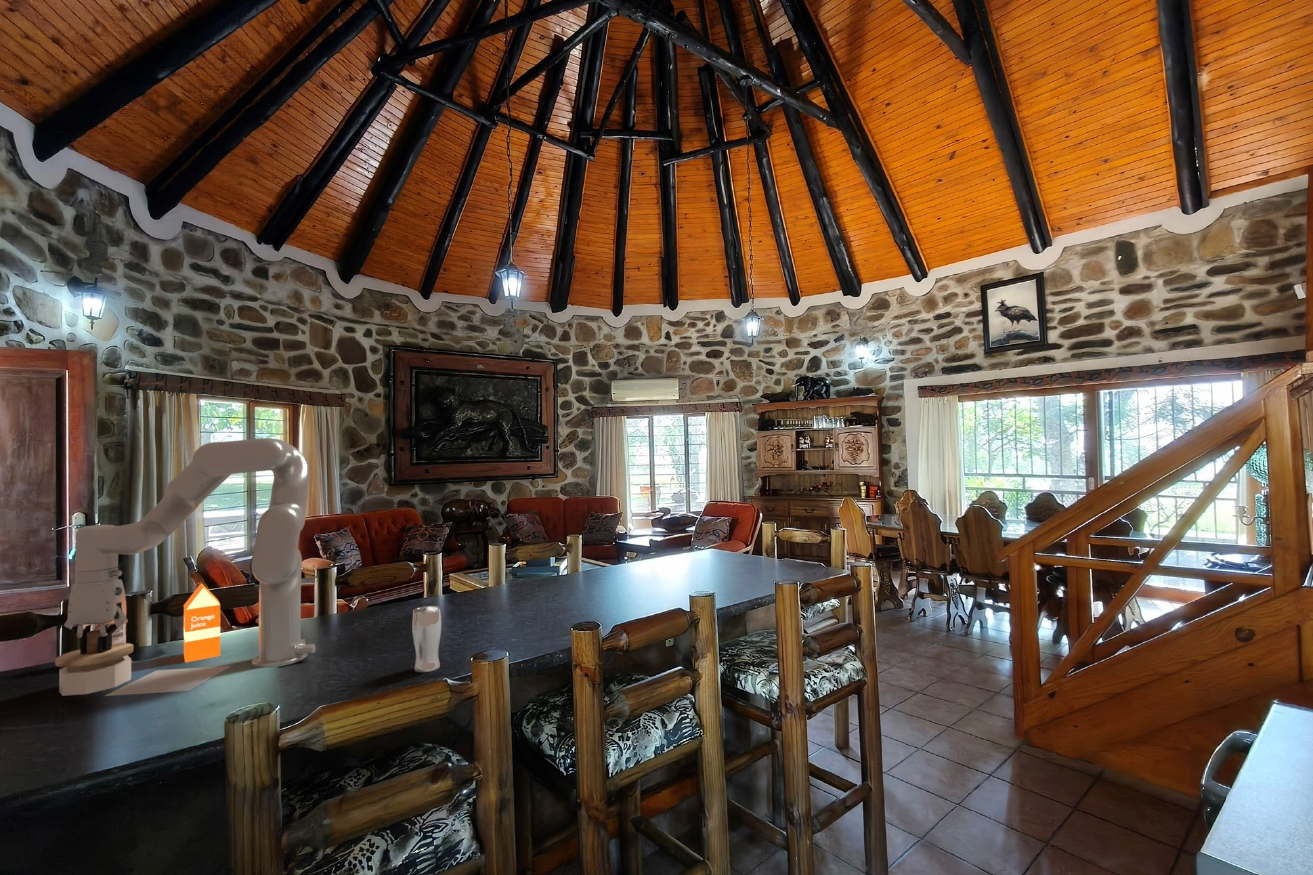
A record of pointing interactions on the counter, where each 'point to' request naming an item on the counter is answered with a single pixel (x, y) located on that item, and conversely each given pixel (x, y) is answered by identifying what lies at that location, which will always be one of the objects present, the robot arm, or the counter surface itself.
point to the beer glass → (426, 637)
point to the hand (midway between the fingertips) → (96, 651)
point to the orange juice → (201, 625)
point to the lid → (93, 653)
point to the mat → (169, 681)
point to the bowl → (94, 676)
